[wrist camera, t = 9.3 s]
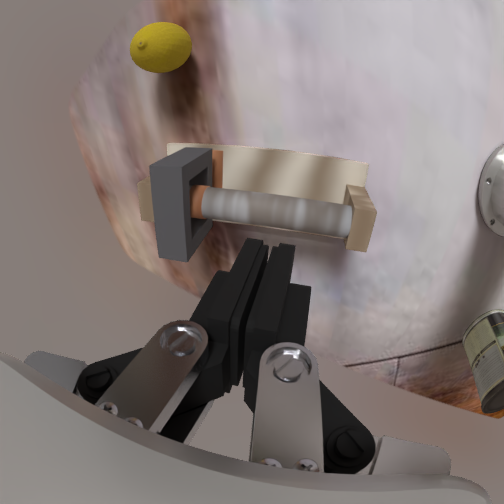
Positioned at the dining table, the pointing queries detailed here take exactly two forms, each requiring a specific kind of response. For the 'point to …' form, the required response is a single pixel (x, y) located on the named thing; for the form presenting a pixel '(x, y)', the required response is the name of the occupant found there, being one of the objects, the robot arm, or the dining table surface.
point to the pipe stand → (280, 192)
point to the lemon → (160, 47)
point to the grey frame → (179, 201)
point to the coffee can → (487, 358)
